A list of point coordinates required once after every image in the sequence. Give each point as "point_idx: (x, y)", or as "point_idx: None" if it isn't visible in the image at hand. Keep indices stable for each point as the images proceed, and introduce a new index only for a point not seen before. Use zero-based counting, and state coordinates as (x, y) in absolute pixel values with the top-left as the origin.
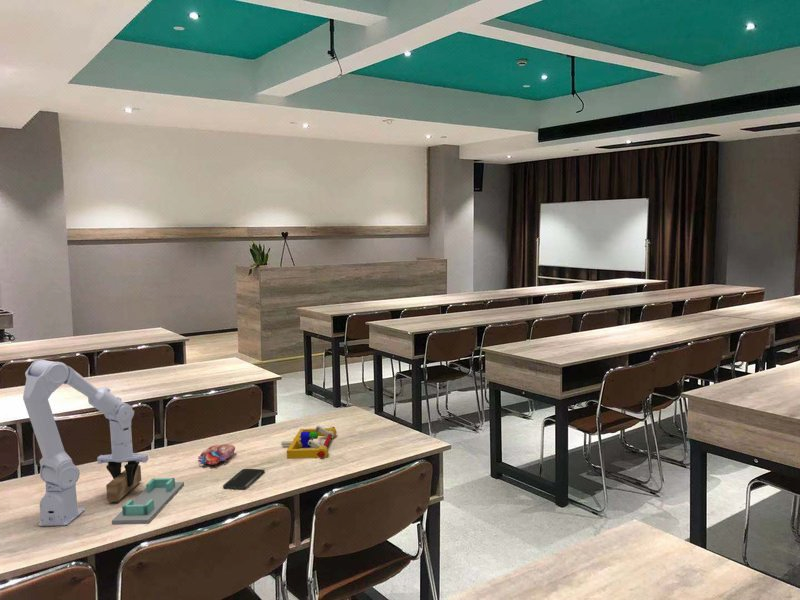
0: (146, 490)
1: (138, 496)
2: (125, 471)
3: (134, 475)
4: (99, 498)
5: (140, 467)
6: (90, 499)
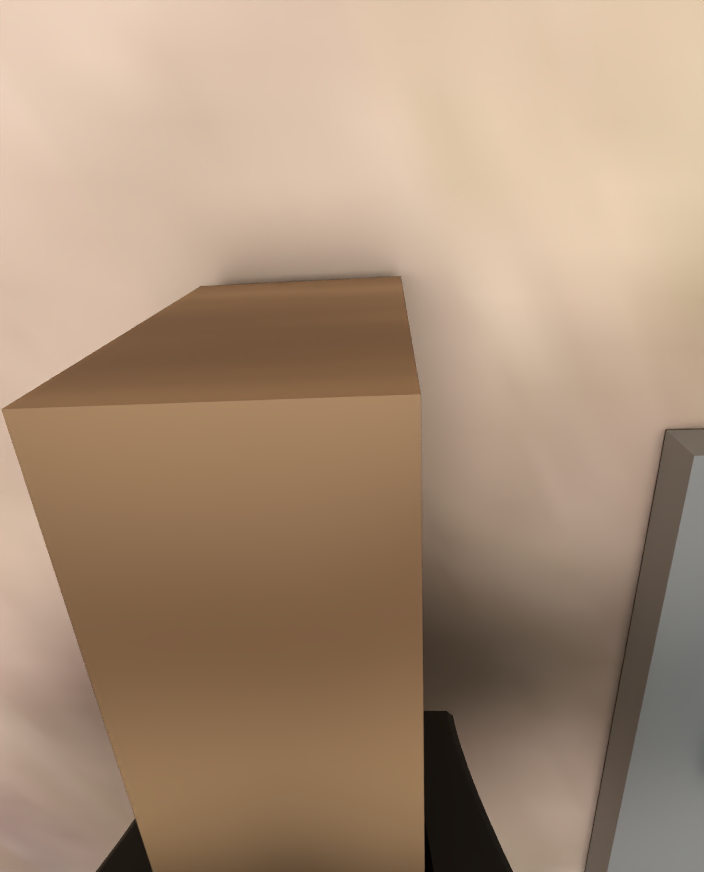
0: (683, 723)
1: (625, 855)
2: (219, 867)
3: (505, 864)
4: (104, 758)
5: (413, 363)
6: (19, 772)
